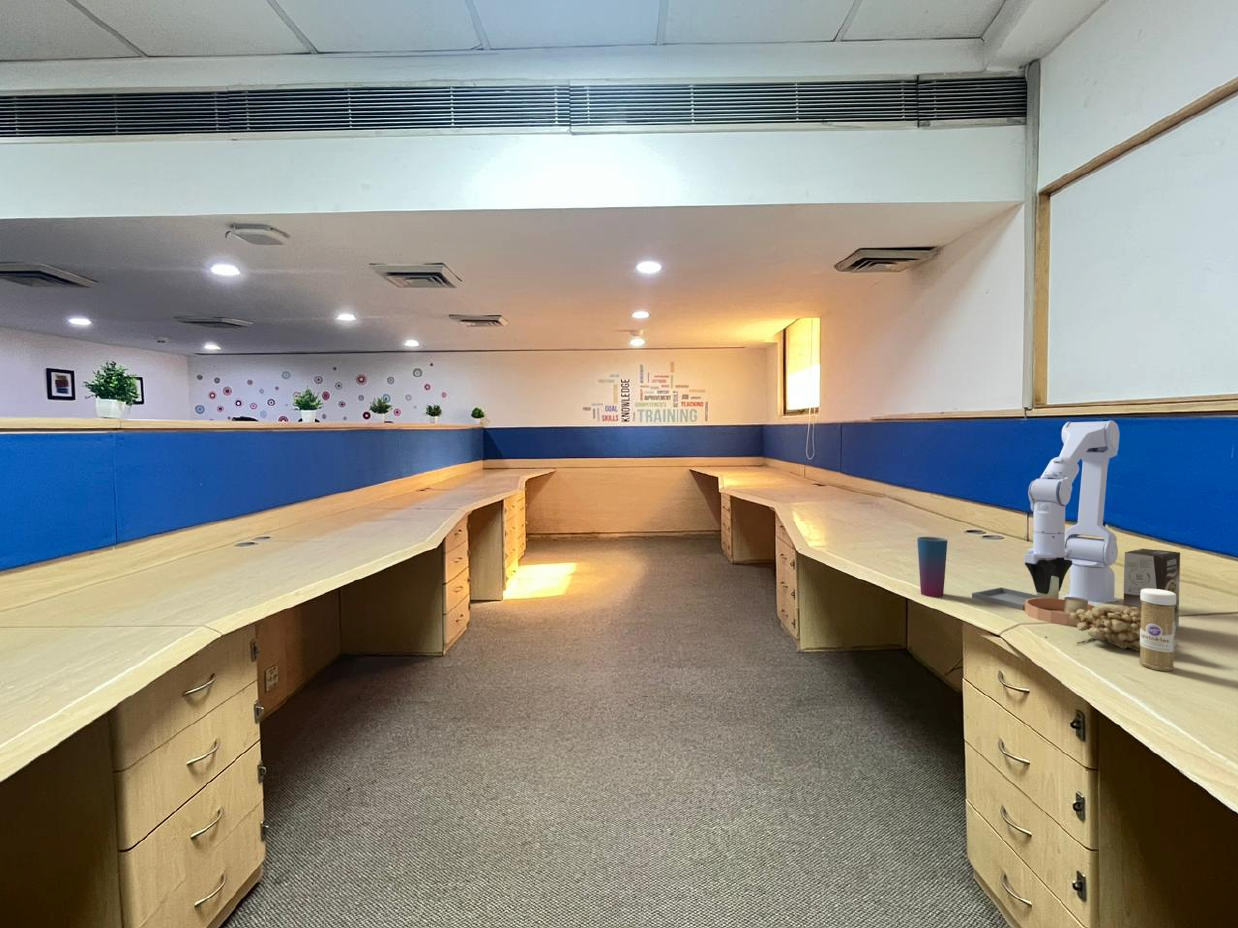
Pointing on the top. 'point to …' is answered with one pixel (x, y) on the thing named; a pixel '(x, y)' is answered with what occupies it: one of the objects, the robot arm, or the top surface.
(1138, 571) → the coffee box
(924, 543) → the cup
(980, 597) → the tray
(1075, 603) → the beige rounded cylinder
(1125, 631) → the mineral formation
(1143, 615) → the sprinkles bottle
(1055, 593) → the mint green rounded cylinder
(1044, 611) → the bowl
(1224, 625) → the top surface
